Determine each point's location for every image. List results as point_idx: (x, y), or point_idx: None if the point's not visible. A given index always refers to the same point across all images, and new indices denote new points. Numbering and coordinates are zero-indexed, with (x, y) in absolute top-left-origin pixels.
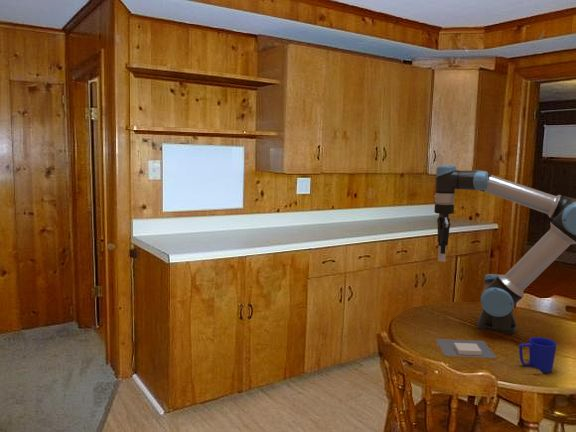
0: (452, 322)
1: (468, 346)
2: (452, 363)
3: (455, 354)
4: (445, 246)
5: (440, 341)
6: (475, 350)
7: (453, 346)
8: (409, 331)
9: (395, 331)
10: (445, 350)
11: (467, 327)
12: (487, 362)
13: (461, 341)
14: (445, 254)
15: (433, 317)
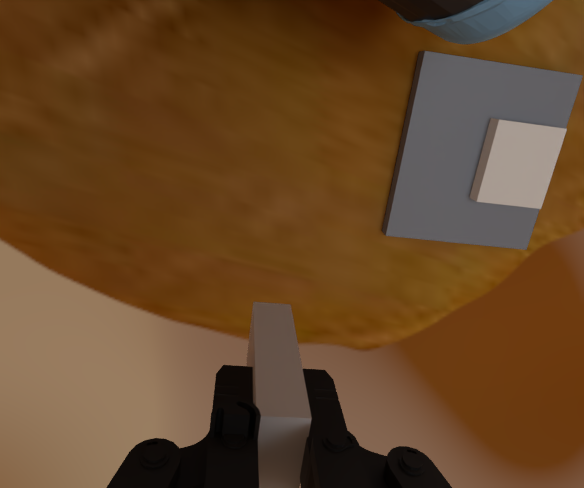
0: (151, 79)
1: (518, 161)
2: (549, 230)
3: (526, 213)
4: (309, 419)
5: (412, 226)
6: (556, 150)
7: (462, 195)
8: (271, 291)
9: None
10: (490, 234)
11: (217, 31)
12: None
13: (421, 147)
14: (297, 347)
15: (87, 148)
